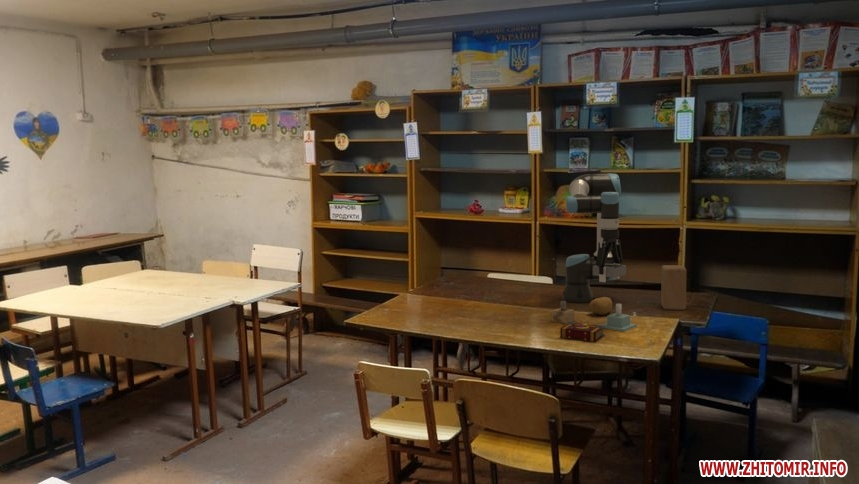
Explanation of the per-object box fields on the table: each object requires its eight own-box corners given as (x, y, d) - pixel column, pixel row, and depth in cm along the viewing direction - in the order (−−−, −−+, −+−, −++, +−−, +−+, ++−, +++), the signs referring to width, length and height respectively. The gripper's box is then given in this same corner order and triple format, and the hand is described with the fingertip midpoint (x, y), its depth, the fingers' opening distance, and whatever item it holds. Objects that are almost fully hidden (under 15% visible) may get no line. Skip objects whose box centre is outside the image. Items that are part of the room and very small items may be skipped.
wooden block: (686, 310, 310) (686, 268, 308) (663, 309, 312) (664, 268, 310) (682, 305, 320) (683, 265, 317) (660, 305, 322) (661, 264, 319)
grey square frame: (592, 275, 282) (592, 266, 282) (605, 272, 289) (605, 263, 288) (613, 277, 275) (613, 268, 274) (626, 274, 282) (626, 265, 281)
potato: (617, 312, 309) (617, 296, 308) (604, 318, 298) (604, 301, 297) (598, 310, 315) (598, 293, 314) (584, 315, 305) (584, 298, 304)
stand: (552, 321, 296) (552, 301, 295) (561, 318, 301) (561, 299, 300) (565, 323, 291) (565, 303, 290) (574, 320, 296) (574, 301, 295)
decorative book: (595, 343, 260) (595, 331, 260) (557, 338, 269) (557, 326, 268) (604, 336, 270) (604, 324, 269) (567, 331, 278) (567, 320, 278)
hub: (600, 327, 283) (600, 304, 282) (613, 322, 291) (613, 300, 289) (623, 331, 275) (623, 308, 274) (636, 326, 283) (637, 303, 282)
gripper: (602, 231, 269) (602, 284, 272) (631, 226, 285) (631, 277, 287) (587, 230, 275) (586, 282, 277) (616, 225, 290) (616, 275, 293)
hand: (609, 280), depth 282 cm, fingers closed on grey square frame, 10 cm apart
